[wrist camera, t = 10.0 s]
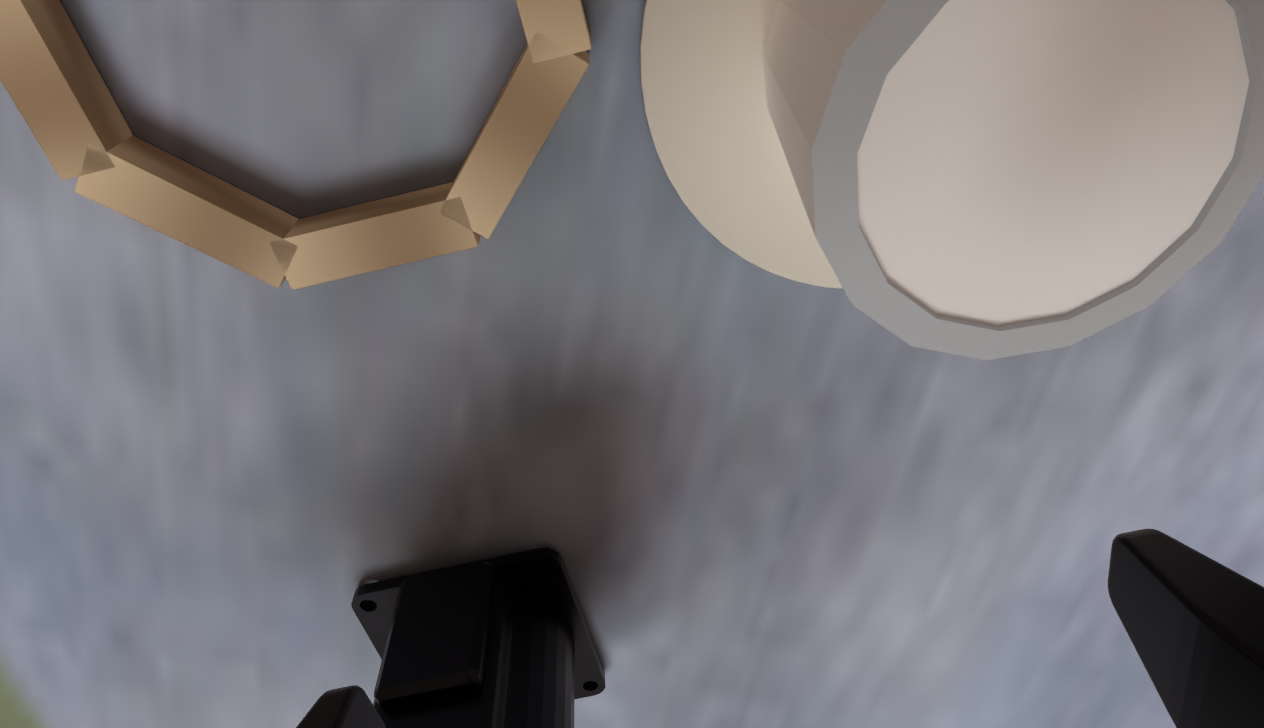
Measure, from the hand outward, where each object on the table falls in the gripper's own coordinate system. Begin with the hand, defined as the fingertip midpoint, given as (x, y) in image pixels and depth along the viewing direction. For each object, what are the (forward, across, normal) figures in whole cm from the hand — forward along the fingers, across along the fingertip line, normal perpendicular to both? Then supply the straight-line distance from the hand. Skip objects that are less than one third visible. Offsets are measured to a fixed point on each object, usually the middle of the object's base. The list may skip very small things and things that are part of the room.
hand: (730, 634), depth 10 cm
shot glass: (+12, -6, -3) cm, 13 cm away
